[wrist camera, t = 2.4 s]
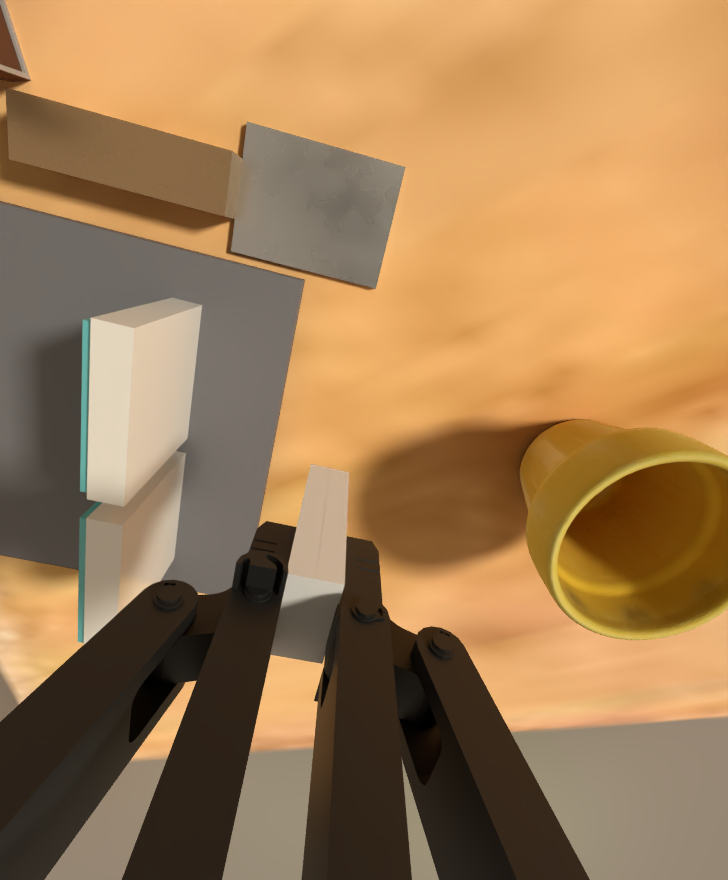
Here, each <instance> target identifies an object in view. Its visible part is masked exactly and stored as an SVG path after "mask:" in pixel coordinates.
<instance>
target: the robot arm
mask: <svg viewBox="0 0 728 880" xmlns="http://www.w3.org/2000/svg"><path fill="white" fill-rule="evenodd" d="M348 488H349V472H346V471H341V470H337V469H332V468H327V467H323V466H318V465H314V464H311V466H310V471H309V475H308V479H307V484H306V488H305V493H304V497H303V502H302V506H301V510H300V515H299V519H298V524H297V527H293V526H288V525H283V524H278V523H273V522H268V521H266V522H265V523H264V524H262V525H261V526H260V527H259V528H257V530H256V533H255V536H254V538H253V541H252V544H251V546H250V549H249V552H248V553H246V554H244V555H242V556H240V558H239V559H238V560H237V562H236V566H235V572H234V578H233V583H232V587H231V588H229V589H228V590H226V591H223V592H220V593H216V594H209V595H198V593H197V592H196V590H195V589H194V587H193V586H191V585H189V584H188V583H186V582H183V581H178V580H163V581H160V582H156V583H153V584H151V585H150V586H148V587H147V588H145V589H144V590H143V591H142V592H141V593H140V594H139V595H137V596H136V597H135V598H134V599H133V600H132V601H131V602H130V603H129V604H128V605H127V606H126V607H124V608H123V609H122V610H121V611H120V612H119V613H118V614H117V615H116V616H115V617H114V618H113V619H111V620H110V621H109V622H108V623H107V624H106V625H105V626H104V627H103V628H102V629H101V630H100V631H98V632H97V633H96V634H95V635H94V636H93V637H92V638H91V639H90V640H89V641H88V642H86V643H85V644H84V645H83V646H82V647H81V648H80V649H79V650H78V651H77V652H76V653H75V654H73V655H72V656H71V657H70V658H69V659H68V660H67V661H66V662H65V663H64V664H63V665H62V666H60V667H59V668H58V669H57V670H56V671H55V672H54V673H53V674H52V675H51V676H50V677H49V678H47V679H46V680H45V681H44V682H43V683H42V684H41V685H40V686H39V687H38V688H37V689H36V690H34V691H33V692H32V693H31V694H30V695H29V696H28V697H27V698H26V699H25V700H24V701H23V702H21V703H20V704H19V705H18V706H17V707H16V708H15V709H14V710H13V711H12V712H11V713H10V714H8V715H7V716H6V717H5V718H4V719H3V720H2V721H1V722H0V880H44V879H45V878H46V877H47V875H48V874H49V872H50V871H51V869H52V868H53V867H54V865H55V864H56V863H57V861H58V860H59V858H60V857H61V856H62V854H63V853H64V852H65V850H66V849H67V847H68V846H69V844H70V843H71V842H72V840H73V839H74V838H75V836H76V835H77V833H78V832H79V831H80V829H81V828H82V827H83V825H84V824H85V822H86V821H87V820H88V818H89V817H90V815H91V814H92V813H93V811H94V810H95V809H96V807H97V806H98V804H99V803H100V801H101V800H102V799H103V797H104V796H105V795H106V793H107V792H108V790H109V789H110V788H111V786H112V785H113V783H114V782H115V781H116V779H117V778H118V776H119V775H120V774H121V772H122V771H123V770H124V768H125V767H126V765H127V764H128V763H129V761H130V760H131V759H132V757H133V756H134V754H135V753H136V752H137V750H138V749H139V747H140V746H141V745H142V743H143V742H144V741H145V739H146V738H147V736H148V735H149V734H150V732H151V731H152V729H153V728H154V727H155V725H156V724H157V722H158V721H159V720H160V718H161V717H162V716H163V714H164V713H165V711H166V710H167V709H168V707H169V706H170V704H171V703H172V702H173V700H174V699H175V698H176V696H177V695H178V693H179V692H180V691H181V689H182V688H183V686H184V684H185V682H189V681H196V684H195V687H194V689H193V692H192V695H191V697H190V700H189V703H188V705H187V708H186V711H185V713H184V716H183V719H182V721H181V724H180V727H179V729H178V732H177V735H176V737H175V740H174V743H173V745H172V748H171V750H170V753H169V756H168V758H167V761H166V764H165V766H164V769H163V772H162V774H161V777H160V780H159V782H158V785H157V788H156V790H155V793H154V796H153V798H152V801H151V804H150V806H149V809H148V812H147V814H146V817H145V820H144V822H143V825H142V828H141V830H140V833H139V836H138V838H137V841H136V843H135V846H134V849H133V851H132V854H131V857H130V859H129V862H128V865H127V867H126V870H125V873H124V875H123V878H122V880H222V876H223V871H224V867H225V862H226V857H227V853H228V849H229V844H230V839H231V835H232V830H233V825H234V821H235V816H236V812H237V807H238V802H239V798H240V793H241V788H242V784H243V779H244V775H245V770H246V765H247V761H248V756H249V751H250V747H251V742H252V738H253V733H254V728H255V724H256V719H257V714H258V710H259V705H260V700H261V696H262V691H263V687H264V682H265V677H266V673H267V668H268V663H269V659H270V655H276V656H282V657H287V658H293V659H299V660H305V661H310V662H316V663H323V659H324V656H325V662H324V668H323V672H322V675H321V679H320V682H319V685H318V689H317V692H316V696H315V699H314V701H318V707H317V718H316V729H315V740H314V751H313V761H312V773H311V783H310V794H309V805H308V816H307V828H306V838H305V849H304V860H303V871H302V880H412V876H411V864H410V854H409V841H408V829H407V817H406V805H405V794H404V782H403V771H402V760H403V764H404V767H405V770H406V773H407V777H408V780H409V783H410V786H411V790H412V793H413V796H414V799H415V802H416V806H417V809H418V812H419V816H420V819H421V822H422V825H423V829H424V832H425V835H426V838H427V842H428V845H429V848H430V851H431V855H432V858H433V861H434V864H435V868H436V871H437V874H438V877H439V880H590V879H589V877H588V876H587V874H586V872H585V870H584V868H583V866H582V864H581V863H580V861H579V859H578V857H577V855H576V853H575V851H574V850H573V848H572V846H571V844H570V842H569V840H568V838H567V837H566V835H565V833H564V831H563V829H562V827H561V826H560V824H559V822H558V820H557V818H556V816H555V814H554V812H553V811H552V809H551V807H550V805H549V803H548V801H547V799H546V798H545V796H544V794H543V792H542V790H541V789H540V786H539V784H538V783H537V781H536V779H535V777H534V775H533V773H532V771H531V770H530V768H529V766H528V764H527V762H526V760H525V759H524V757H523V755H522V753H521V751H520V749H519V747H518V745H517V744H516V742H515V740H514V738H513V736H512V734H511V732H510V730H509V729H508V727H507V725H506V723H505V721H504V719H503V717H502V716H501V714H500V712H499V710H498V708H497V706H496V704H495V703H494V701H493V699H492V697H491V695H490V693H489V691H488V690H487V688H486V686H485V684H484V682H483V680H482V678H481V677H480V675H479V673H478V671H477V669H476V667H475V665H474V664H473V662H472V660H471V658H470V656H469V654H468V652H467V650H466V649H465V647H464V645H463V644H462V643H461V641H460V640H459V639H458V638H457V637H456V636H455V635H453V634H452V633H451V632H449V631H447V630H444V629H442V628H438V627H427V628H423V629H422V630H421V631H419V632H418V635H416V634H414V633H412V632H409V631H407V630H405V629H403V628H401V627H399V626H398V625H396V624H395V623H394V622H392V621H391V620H390V618H389V614H388V611H387V609H386V608H385V607H384V606H383V605H382V593H381V579H380V565H379V552H378V550H377V549H376V547H375V546H374V544H373V542H372V541H367V540H362V539H357V538H352V537H347V513H348ZM401 757H402V758H401Z"/></svg>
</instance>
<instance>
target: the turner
mask: <svg viewBox="0 0 728 880" xmlns="http://www.w3.org/2000/svg"><path fill="white" fill-rule="evenodd" d="M6 106H7V130H8V153H9V159H10V160H14V161H17V162H21V163H25V164H29V165H32V166H36V167H40V168H44V169H47V170H51V171H55V172H59V173H63V174H66V175H70V176H74V177H78V178H81V179H85V180H89V181H93V182H96V183H100V184H104V185H108V186H111V187H115V188H119V189H123V190H126V191H130V192H134V193H138V194H142V195H145V196H149V197H153V198H157V199H160V200H164V201H168V202H172V203H175V204H179V205H183V206H187V207H190V208H194V209H198V210H202V211H206V212H209V213H213V214H217V215H221V216H224V217H228V218H233V219H235V222H234V230H233V238H232V246H231V251H232V252H236V253H240V254H243V255H247V256H251V257H255V258H259V259H263V260H267V261H271V262H274V263H278V264H282V265H286V266H290V267H294V268H298V269H301V270H305V271H309V272H313V273H317V274H321V275H325V276H328V277H332V278H336V279H340V280H344V281H348V282H352V283H356V284H359V285H363V286H367V287H371V288H375V289H376V285H377V281H378V277H379V273H380V269H381V265H382V261H383V257H384V253H385V248H386V244H387V240H388V236H389V232H390V228H391V224H392V220H393V216H394V211H395V207H396V203H397V199H398V195H399V191H400V187H401V183H402V179H403V175H404V170H405V167H403V166H400V165H396V164H393V163H389V162H386V161H382V160H379V159H375V158H372V157H368V156H365V155H361V154H358V153H354V152H351V151H347V150H344V149H340V148H337V147H333V146H330V145H327V144H323V143H320V142H316V141H313V140H309V139H306V138H302V137H299V136H295V135H292V134H288V133H285V132H281V131H278V130H274V129H271V128H267V127H264V126H260V125H257V124H253V123H250V122H247V126H246V134H245V142H244V150H243V158H241V157H239V156H238V155H237V154H236V153H234V152H233V151H230V150H227V149H223V148H219V147H216V146H212V145H209V144H205V143H201V142H198V141H194V140H191V139H187V138H184V137H180V136H176V135H173V134H169V133H166V132H162V131H159V130H155V129H151V128H148V127H144V126H141V125H137V124H134V123H130V122H126V121H123V120H119V119H116V118H112V117H109V116H105V115H101V114H98V113H94V112H91V111H87V110H84V109H80V108H76V107H73V106H69V105H66V104H62V103H59V102H55V101H51V100H48V99H44V98H41V97H37V96H34V95H30V94H26V93H23V92H19V91H16V90H12V89H8V88H6Z"/></svg>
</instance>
